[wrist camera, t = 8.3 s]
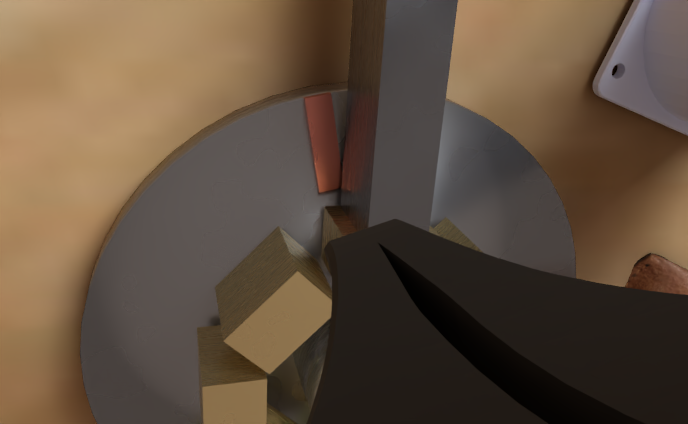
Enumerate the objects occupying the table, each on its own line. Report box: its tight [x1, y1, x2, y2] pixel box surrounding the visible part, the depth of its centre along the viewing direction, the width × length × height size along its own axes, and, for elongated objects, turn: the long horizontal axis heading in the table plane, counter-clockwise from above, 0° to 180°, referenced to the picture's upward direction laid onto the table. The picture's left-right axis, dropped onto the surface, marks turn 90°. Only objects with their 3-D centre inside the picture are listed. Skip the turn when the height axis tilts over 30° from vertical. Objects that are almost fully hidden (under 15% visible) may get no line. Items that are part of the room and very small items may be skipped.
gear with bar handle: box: [197, 0, 483, 424], centre depth 18 cm, size 11×20×3 cm, turn 177°
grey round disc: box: [80, 82, 576, 424], centre depth 21 cm, size 18×18×5 cm
